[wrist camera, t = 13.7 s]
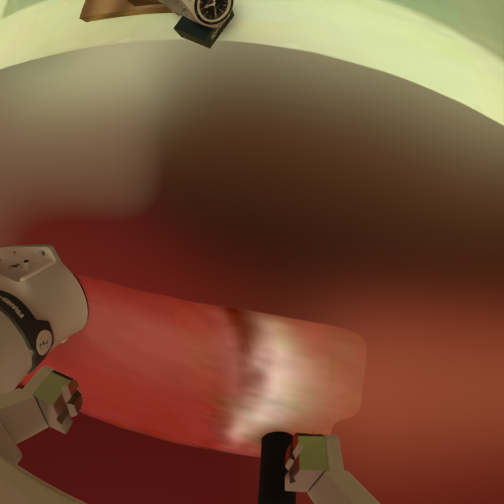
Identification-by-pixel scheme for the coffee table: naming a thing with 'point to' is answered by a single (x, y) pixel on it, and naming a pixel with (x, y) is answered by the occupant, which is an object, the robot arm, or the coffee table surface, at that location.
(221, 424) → the coffee table surface
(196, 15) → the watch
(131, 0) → the brown stepped block
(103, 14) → the board
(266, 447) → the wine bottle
